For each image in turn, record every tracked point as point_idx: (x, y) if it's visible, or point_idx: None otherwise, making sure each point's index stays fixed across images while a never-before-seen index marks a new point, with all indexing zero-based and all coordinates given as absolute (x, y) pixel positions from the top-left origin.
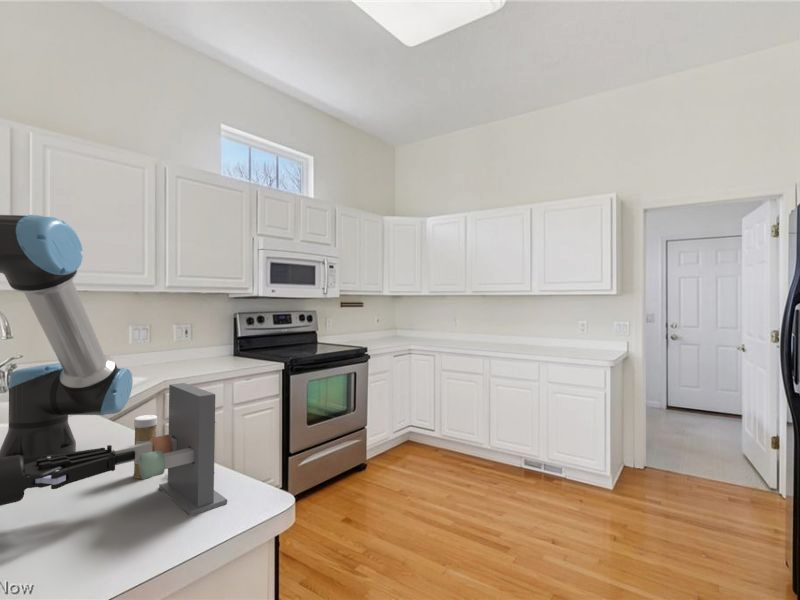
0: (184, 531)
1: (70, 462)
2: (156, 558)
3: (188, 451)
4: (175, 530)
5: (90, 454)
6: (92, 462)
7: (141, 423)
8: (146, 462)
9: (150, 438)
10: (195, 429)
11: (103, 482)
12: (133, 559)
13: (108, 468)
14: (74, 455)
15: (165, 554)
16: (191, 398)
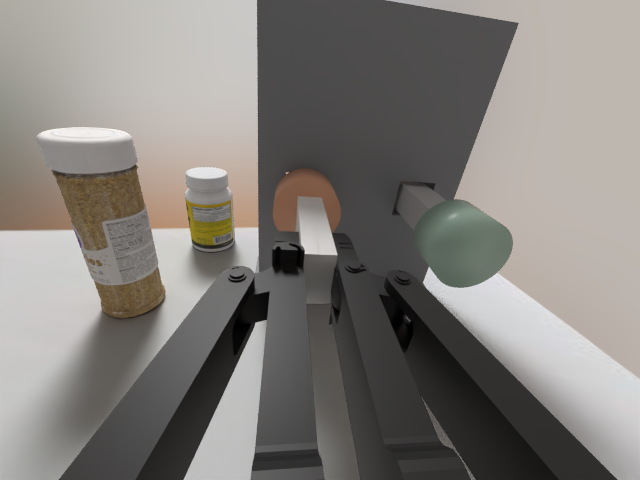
0: (492, 326)
1: (445, 451)
2: (606, 389)
3: (432, 191)
4: (484, 335)
5: (300, 323)
6: (471, 340)
7: (110, 154)
8: (510, 239)
9: (143, 202)
10: (455, 133)
11: (35, 387)
12: (617, 428)
13: (404, 321)
14: (190, 400)
15: (588, 373)
16: (455, 34)
